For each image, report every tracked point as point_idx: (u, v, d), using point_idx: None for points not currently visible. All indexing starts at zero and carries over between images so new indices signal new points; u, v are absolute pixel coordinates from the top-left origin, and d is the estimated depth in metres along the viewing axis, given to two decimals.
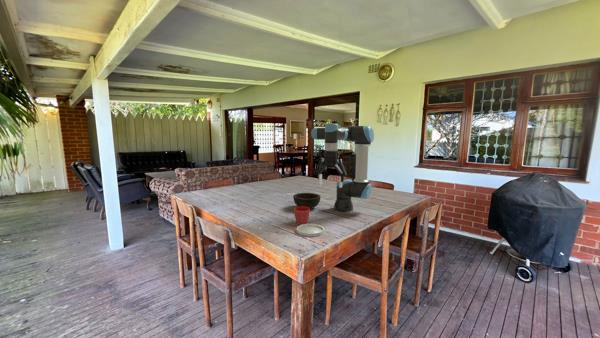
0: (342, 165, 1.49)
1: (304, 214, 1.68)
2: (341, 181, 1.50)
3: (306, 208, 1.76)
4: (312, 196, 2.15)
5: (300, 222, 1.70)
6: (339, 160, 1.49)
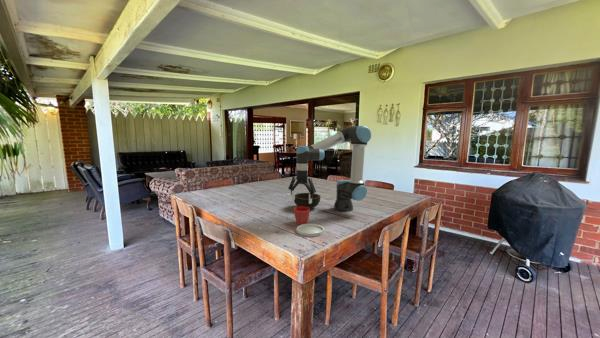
0: (311, 183, 1.66)
1: (304, 214, 1.68)
2: (310, 198, 1.67)
3: (306, 208, 1.76)
4: None
5: (300, 222, 1.70)
6: (309, 179, 1.65)
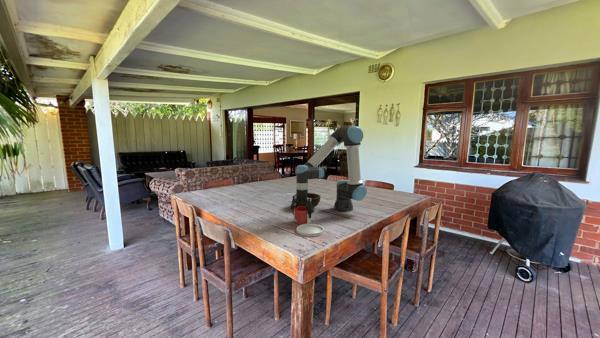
0: (311, 204, 1.68)
1: (304, 214, 1.68)
2: (309, 218, 1.69)
3: None
4: (312, 196, 2.15)
5: (300, 222, 1.70)
6: (308, 199, 1.67)
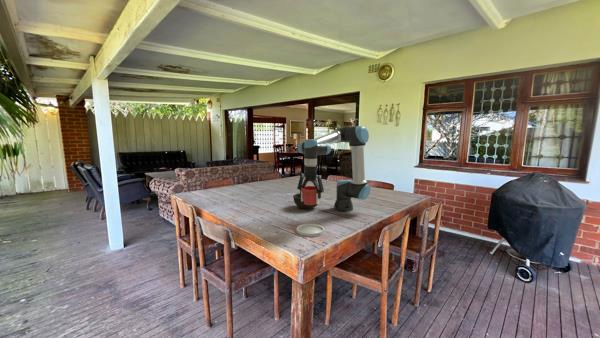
0: (320, 182, 1.51)
1: (313, 193, 1.51)
2: (318, 198, 1.52)
3: (315, 188, 1.59)
4: None
5: (308, 202, 1.53)
6: (318, 177, 1.50)
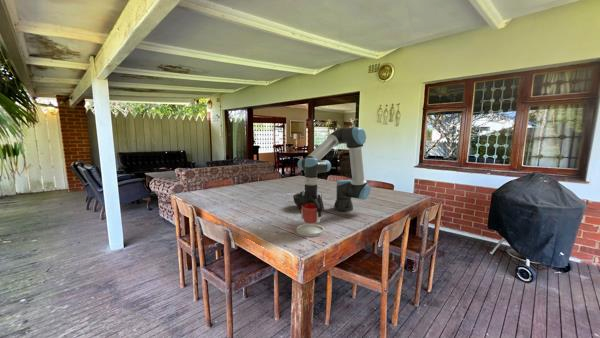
0: (321, 200, 1.52)
1: (313, 212, 1.52)
2: (318, 216, 1.53)
3: None
4: None
5: (309, 221, 1.53)
6: (318, 195, 1.51)
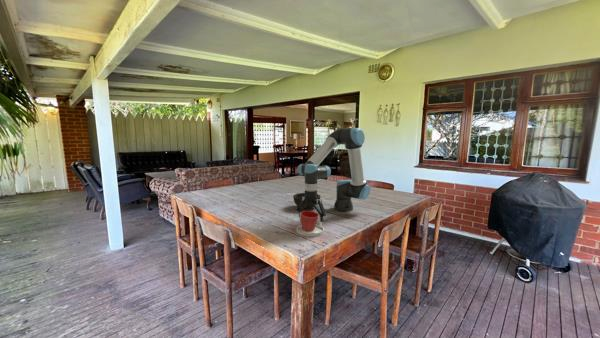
0: (321, 205, 1.52)
1: (312, 220, 1.54)
2: (320, 221, 1.53)
3: (314, 213, 1.62)
4: None
5: (306, 228, 1.55)
6: (318, 201, 1.51)
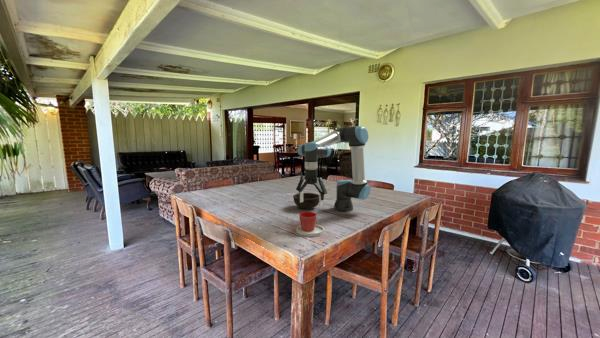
0: (322, 184, 1.50)
1: (310, 220, 1.54)
2: (321, 199, 1.51)
3: (312, 214, 1.62)
4: (312, 196, 2.15)
5: (306, 229, 1.56)
6: (319, 179, 1.50)
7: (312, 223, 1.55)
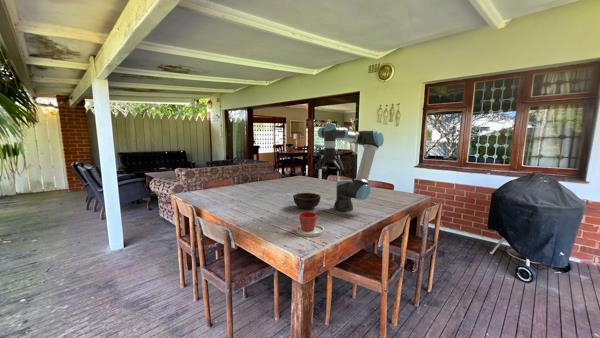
0: (340, 161, 1.65)
1: (310, 220, 1.54)
2: (339, 175, 1.66)
3: (312, 214, 1.62)
4: (312, 196, 2.15)
5: (306, 229, 1.56)
6: (337, 156, 1.65)
7: (312, 223, 1.55)
